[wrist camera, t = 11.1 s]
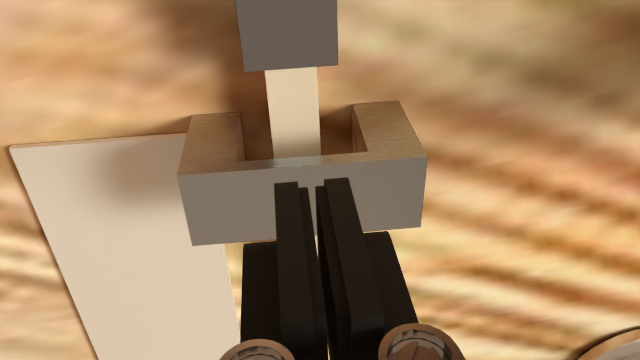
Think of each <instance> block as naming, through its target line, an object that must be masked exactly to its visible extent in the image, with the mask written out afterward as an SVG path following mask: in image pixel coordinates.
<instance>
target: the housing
mask: <svg viewBox="0 0 640 360" xmlns="http://www.w3.org/2000/svg"><path fill="white" fill-rule="evenodd" d="M427 159H428V156H427V155H426V153H425V151H424V149H423V147H422V145H421V143H420V141H419V139H418V137H417V135H416V133H415V131H414V129H413V127H412V126H411V124H410V122H409V120H408V118H407V116H406V114H405V112H404V110H403V108H402V106H401V104H400V102H399V101H393V102H379V103H364V104H353V140H352V153H346V154H333V155H319V156H306V157H292V158H279V159H265V160H252V161H246V156H245V148H244V140H243V133H242V125H241V117H240V112H233V113H218V114H203V115H192V117H191V121H190V125H189V129H188V133H187V136H186V140H185V144H184V148H183V152H182V156H181V160H180V164H179V168H178V172H177V180H178V185H179V189H180V194H181V198H182V203H183V207H184V212H185V216H186V220H187V225H188V229H189V234H190V238H191V243H192V246H200V245H212V244H224V243H236V242H248V241H260V240H272V239H276V219H275V198H274V183H283V182H295V181H298V187H299V188H300V187H308V192H309V199H310V206H311V213H312V220H313V227H314V234H315V236H317V222H316V199H315V186H324V179H331V178H344V177H348V178H349V182H350V185H351V189H352V193H353V197H354V201H355V204H356V208H357V212H358V216H359V219H360V223H361V227H362V231H363V232H368V231H380V230H392V229H403V228H415V227H421V218H422V208H423V198H424V188H425V178H426V168H427Z"/></svg>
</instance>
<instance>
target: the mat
mask: <svg viewBox="0 0 640 360" xmlns="http://www.w3.org/2000/svg"><path fill="white" fill-rule="evenodd" d="M186 136H187V133H175V134H161V135H147V136H133V137H119V138H104V139H90V140H76V141H62V142H48V143H33V144H19V145H11V147H10V148H9V151H10V153H11V155H12V158H13V160H14V162H15V165H16V167H17V169H18V172H19V174H20V176H21V179H22V181H23V183H24V186H25V188H26V190H27V193H28V195H29V197H30V200H31V202H32V205H33V207H34V209H35V212H36V214H37V216H38V219H39V221H40V223H41V226H42V228H43V230H44V233H45V235H46V237H47V240H48V242H49V244H50V247H51V249H52V251H53V254H54V256H55V258H56V261H57V263H58V265H59V268H60V270H61V272H62V275H63V277H64V279H65V282H66V284H67V286H68V289H69V291H70V293H71V296H72V298H73V301H74V303H75V305H76V308H77V310H78V312H79V315H80V317H81V319H82V322H83V324H84V326H85V329H86V331H87V333H88V336H89V338H90V340H91V343H92V345H93V347H94V350H95V352H96V354H97V357H98V359H99V360H220V358H221V357H222V356H223V355H224V354H225V352H227V351H228V350H229V349H231V348H232V347H234V346H235V345H237V344H240V330H239V324H238V318H237V313H236V307H235V301H234V296H233V290H232V284H231V279H230V273H229V267H228V262H227V256H226V250H225V245H224V244H212V245H200V246H192V243H191V238H190V234H189V229H188V225H187V220H186V216H185V212H184V207H183V203H182V198H181V194H180V189H179V185H178V180H177V172H178V168H179V164H180V160H181V156H182V152H183V148H184V144H185V140H186Z"/></svg>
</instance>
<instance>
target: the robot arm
mask: <svg viewBox="0 0 640 360" xmlns="http://www.w3.org/2000/svg"><path fill="white" fill-rule="evenodd" d="M274 198H275V219H276V240H277V241H272V242H261V243H250V244H244V247H243V273H242V303H241V333H240V344H237V345H235V346H234V347H232V348H231V349H229V350H228V351H227V352H225V354H224V355H223V356H222V357H221V358H220V360H328V349H329V356H330V360H466V359H465V358H464V356H463V354H462V353H461V351H460V349H459V347H458V346H457V345H456V343H455V342H454V341H453V340H452V338H451V337H450V336H448V335H447V334H445V333H444V332H443V331H441V330H440V329H437V328H435V327H432V326H430V325H426V324H419V322H418V319H417V316H416V313H415V310H414V307H413V304H412V301H411V298H410V295H409V292H408V289H407V286H406V283H405V280H404V277H403V274H402V271H401V267H400V264H399V261H398V258H397V255H396V252H395V249H394V246H393V243H392V240H391V237H390V235H389V233H388V232H387V231H384V232H373V233H363V231H362V227H361V223H360V219H359V216H358V212H357V208H356V204H355V201H354V197H353V193H352V189H351V185H350V182H349V178H348V177H344V178H331V179H324V186H315V199H316V222H317V245H318V255H317V248H316V241H315V234H314V227H313V220H312V213H311V206H310V199H309V192H308V187H300V188H299V187H298V181H295V182H283V183H274ZM327 341H328V342H327ZM577 360H640V329H636V330H633V331H629V332H626V333H623V334H620V335H618V336H615V337H613V338H611V339H608V340H606V341H604V342H602V343H600V344H599V345H597V346H595V347H593V348H592V349H590V350H589V351H588V352H586V353H585V354H583V355H582V356H581V357H580V358H578V359H577Z"/></svg>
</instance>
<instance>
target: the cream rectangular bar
mask: <svg viewBox="0 0 640 360" xmlns="http://www.w3.org/2000/svg"><path fill="white" fill-rule="evenodd" d="M235 2H236V10H237V17H238V25H239V33H240V41H241V48H242V56H243V64H244V72H253V71H265V78H266V88H267V97H268V107H269V116H270V126H271V135H272V145H273V154H274V159H279V158H292V157H306V156H319V155H321V146H320V124H319V102H318V80H317V67H320V66H334V65H338V31H337V0H235ZM315 241H316V248H317V255H318V245H317V236H315Z"/></svg>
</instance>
